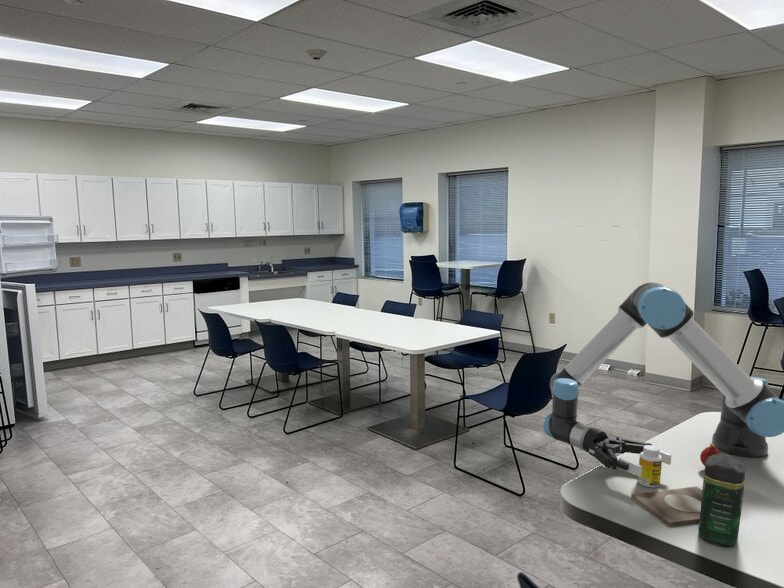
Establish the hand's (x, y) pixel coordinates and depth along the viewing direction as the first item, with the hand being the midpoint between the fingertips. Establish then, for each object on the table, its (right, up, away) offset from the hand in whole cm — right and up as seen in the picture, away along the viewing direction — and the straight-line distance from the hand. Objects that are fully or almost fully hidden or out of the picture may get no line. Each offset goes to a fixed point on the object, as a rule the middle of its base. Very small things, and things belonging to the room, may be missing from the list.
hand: (656, 465), depth 153 cm
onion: (+21, -5, +11) cm, 24 cm away
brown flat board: (+2, -7, -10) cm, 13 cm away
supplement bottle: (-1, -6, +2) cm, 6 cm away
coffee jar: (+3, -9, -23) cm, 25 cm away
